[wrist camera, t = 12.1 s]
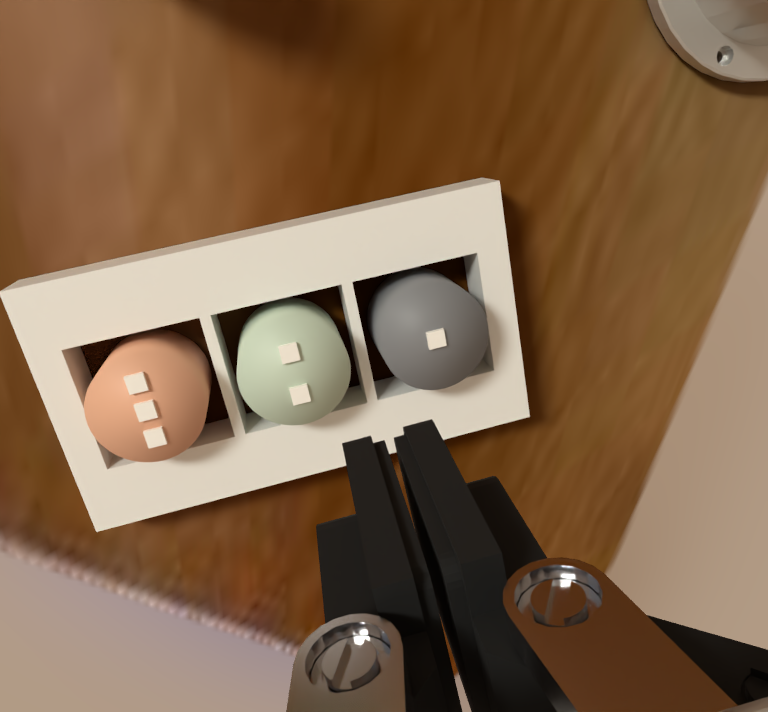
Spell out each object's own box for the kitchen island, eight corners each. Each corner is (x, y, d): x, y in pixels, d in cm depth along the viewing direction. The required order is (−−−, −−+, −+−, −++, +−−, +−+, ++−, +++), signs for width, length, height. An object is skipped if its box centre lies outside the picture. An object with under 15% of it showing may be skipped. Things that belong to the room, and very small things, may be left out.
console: (481, 177, 32) (499, 180, 30) (512, 398, 36) (529, 416, 34) (18, 279, 30) (-2, 291, 27) (107, 504, 34) (96, 532, 32)
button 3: (195, 317, 32) (187, 343, 28) (224, 411, 33) (220, 447, 29) (89, 342, 31) (65, 372, 27) (123, 436, 33) (105, 477, 29)
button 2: (328, 287, 32) (338, 307, 28) (349, 380, 34) (361, 411, 30) (226, 310, 32) (222, 335, 28) (253, 404, 33) (253, 439, 30)
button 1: (454, 257, 33) (481, 273, 29) (469, 349, 35) (496, 376, 31) (357, 279, 32) (371, 299, 29) (377, 373, 34) (393, 403, 30)
